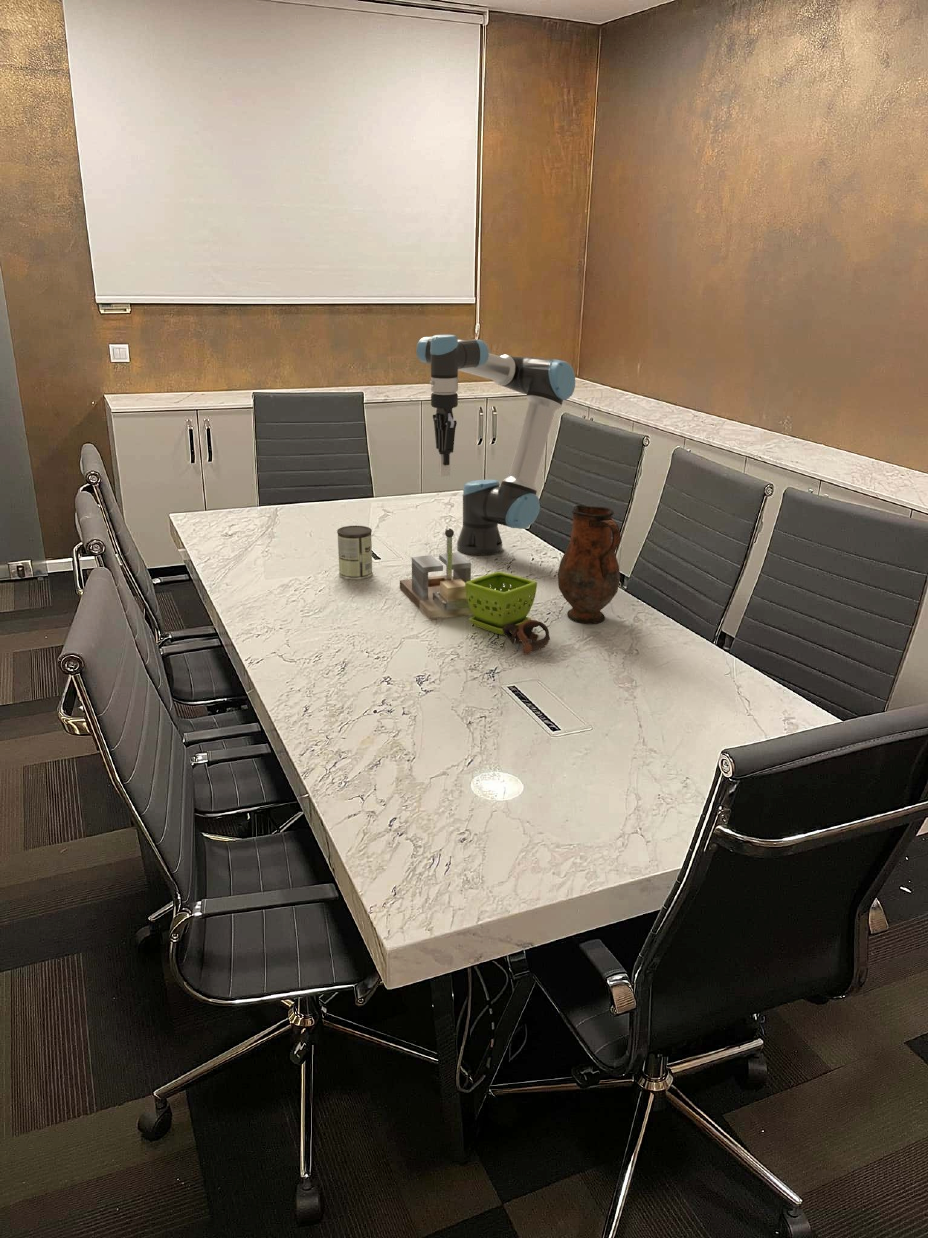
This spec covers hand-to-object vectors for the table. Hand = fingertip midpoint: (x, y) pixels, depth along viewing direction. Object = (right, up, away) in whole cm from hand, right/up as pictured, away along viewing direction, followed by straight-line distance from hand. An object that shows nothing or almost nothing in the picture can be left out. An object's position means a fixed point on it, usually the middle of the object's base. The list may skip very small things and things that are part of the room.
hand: (444, 475), depth 268 cm
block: (+3, -38, -16) cm, 41 cm away
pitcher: (+39, -42, -18) cm, 60 cm away
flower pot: (+15, -44, -24) cm, 52 cm away
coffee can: (-28, -28, +15) cm, 42 cm away
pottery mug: (+21, -49, -37) cm, 65 cm away
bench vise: (-1, -36, -6) cm, 37 cm away
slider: (+3, -37, -16) cm, 40 cm away
